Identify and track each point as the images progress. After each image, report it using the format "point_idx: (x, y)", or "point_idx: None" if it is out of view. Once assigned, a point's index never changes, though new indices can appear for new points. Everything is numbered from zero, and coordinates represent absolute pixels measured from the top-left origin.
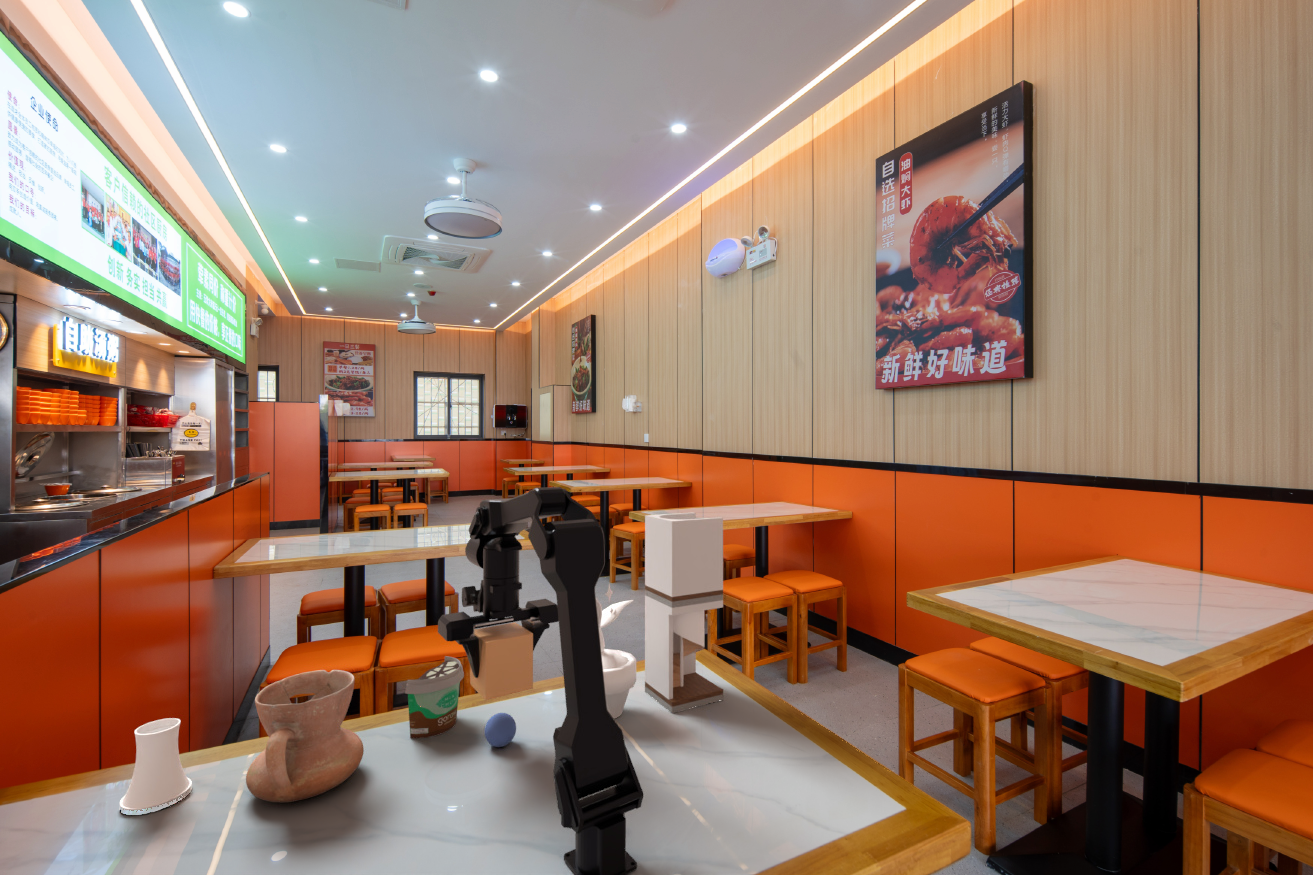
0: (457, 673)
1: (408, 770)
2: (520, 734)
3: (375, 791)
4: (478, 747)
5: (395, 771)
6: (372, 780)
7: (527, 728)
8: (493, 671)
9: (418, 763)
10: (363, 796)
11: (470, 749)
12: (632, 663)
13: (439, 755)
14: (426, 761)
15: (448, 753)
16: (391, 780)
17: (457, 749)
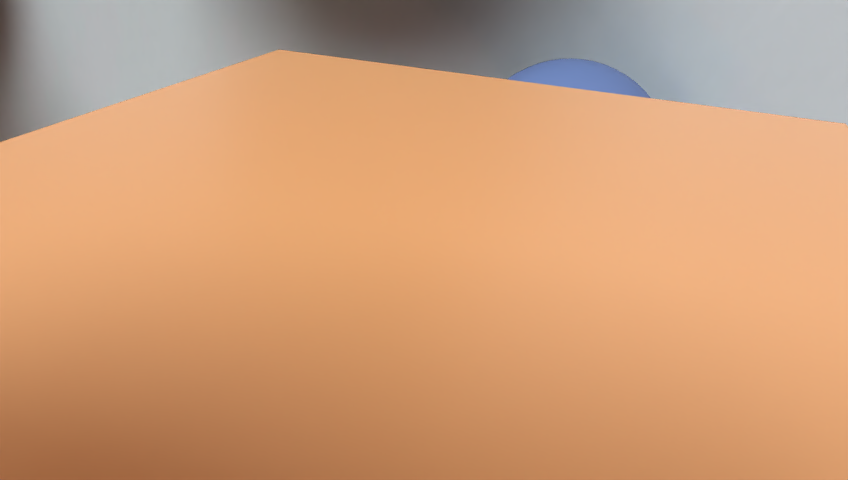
0: None
1: (150, 52)
2: (744, 100)
3: (43, 120)
4: (471, 73)
5: (103, 21)
6: (28, 29)
7: (839, 57)
8: None
9: (191, 20)
10: (10, 123)
11: (429, 63)
12: None
13: (284, 12)
14: (223, 27)
15: (325, 24)
16: (90, 84)
17: (374, 14)
